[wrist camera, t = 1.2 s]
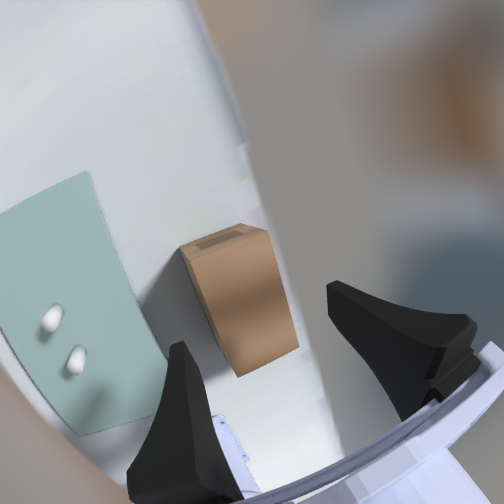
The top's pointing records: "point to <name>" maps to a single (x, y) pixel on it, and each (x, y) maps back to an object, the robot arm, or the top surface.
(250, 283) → the box
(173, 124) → the top surface
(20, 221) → the pin board
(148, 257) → the top surface
